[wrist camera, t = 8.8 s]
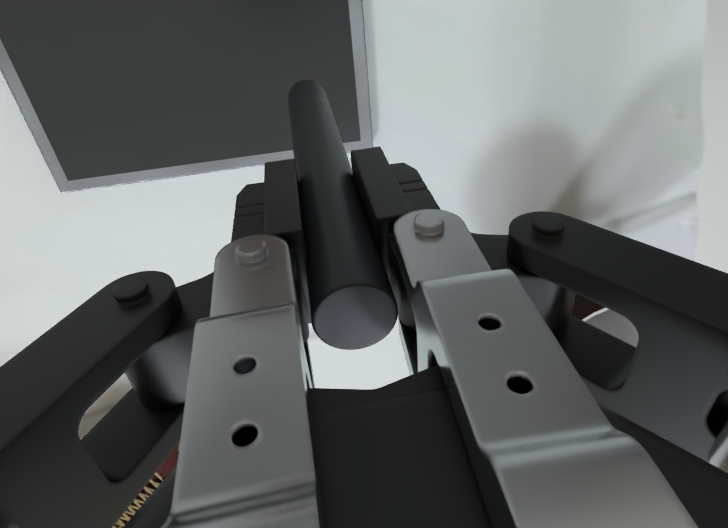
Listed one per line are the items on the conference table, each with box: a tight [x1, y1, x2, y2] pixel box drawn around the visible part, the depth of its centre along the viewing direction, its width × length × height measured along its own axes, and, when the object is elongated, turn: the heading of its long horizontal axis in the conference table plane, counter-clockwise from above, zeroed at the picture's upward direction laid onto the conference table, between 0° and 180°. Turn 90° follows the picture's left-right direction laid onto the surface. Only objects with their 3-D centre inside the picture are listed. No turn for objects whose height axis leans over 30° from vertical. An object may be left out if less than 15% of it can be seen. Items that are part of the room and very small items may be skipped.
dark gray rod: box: [288, 80, 398, 350], centre depth 14 cm, size 2×2×13 cm
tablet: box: [0, 0, 373, 193], centre depth 28 cm, size 20×14×1 cm
